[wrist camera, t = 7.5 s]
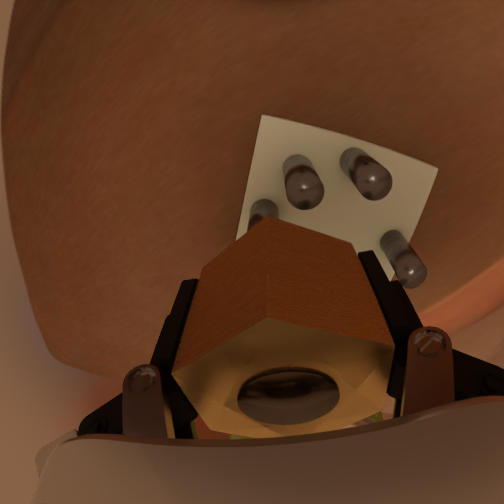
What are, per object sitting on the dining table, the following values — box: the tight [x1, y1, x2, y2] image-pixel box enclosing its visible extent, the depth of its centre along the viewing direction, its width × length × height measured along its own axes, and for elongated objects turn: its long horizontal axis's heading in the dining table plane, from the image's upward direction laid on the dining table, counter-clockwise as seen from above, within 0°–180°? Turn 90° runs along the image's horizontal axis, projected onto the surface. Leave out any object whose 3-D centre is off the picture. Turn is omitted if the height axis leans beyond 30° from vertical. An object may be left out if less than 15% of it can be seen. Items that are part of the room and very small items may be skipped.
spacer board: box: [236, 114, 438, 281], centre depth 29 cm, size 17×17×1 cm
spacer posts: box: [247, 147, 427, 288], centre depth 26 cm, size 16×16×6 cm
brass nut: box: [171, 215, 395, 438], centre depth 10 cm, size 6×6×5 cm
